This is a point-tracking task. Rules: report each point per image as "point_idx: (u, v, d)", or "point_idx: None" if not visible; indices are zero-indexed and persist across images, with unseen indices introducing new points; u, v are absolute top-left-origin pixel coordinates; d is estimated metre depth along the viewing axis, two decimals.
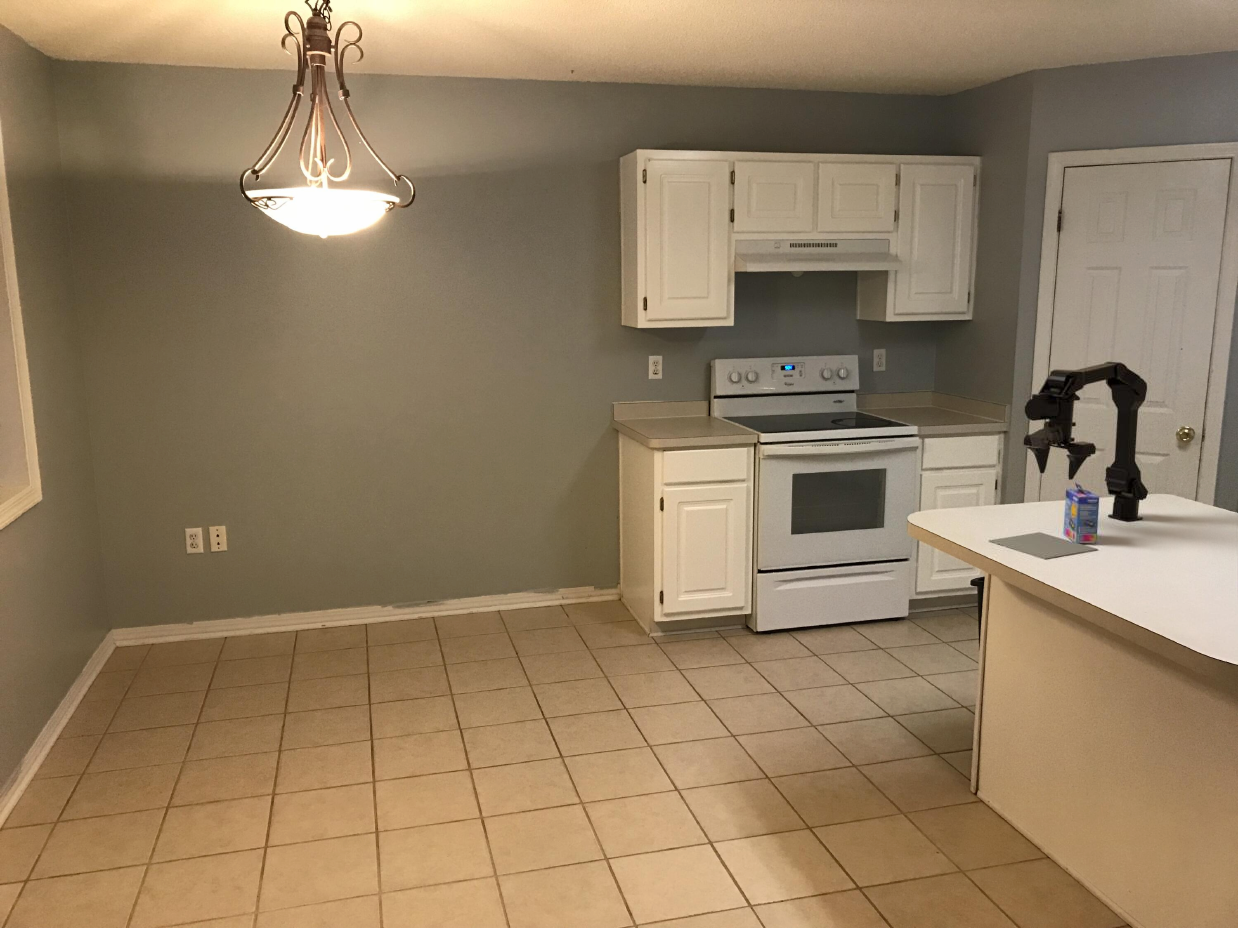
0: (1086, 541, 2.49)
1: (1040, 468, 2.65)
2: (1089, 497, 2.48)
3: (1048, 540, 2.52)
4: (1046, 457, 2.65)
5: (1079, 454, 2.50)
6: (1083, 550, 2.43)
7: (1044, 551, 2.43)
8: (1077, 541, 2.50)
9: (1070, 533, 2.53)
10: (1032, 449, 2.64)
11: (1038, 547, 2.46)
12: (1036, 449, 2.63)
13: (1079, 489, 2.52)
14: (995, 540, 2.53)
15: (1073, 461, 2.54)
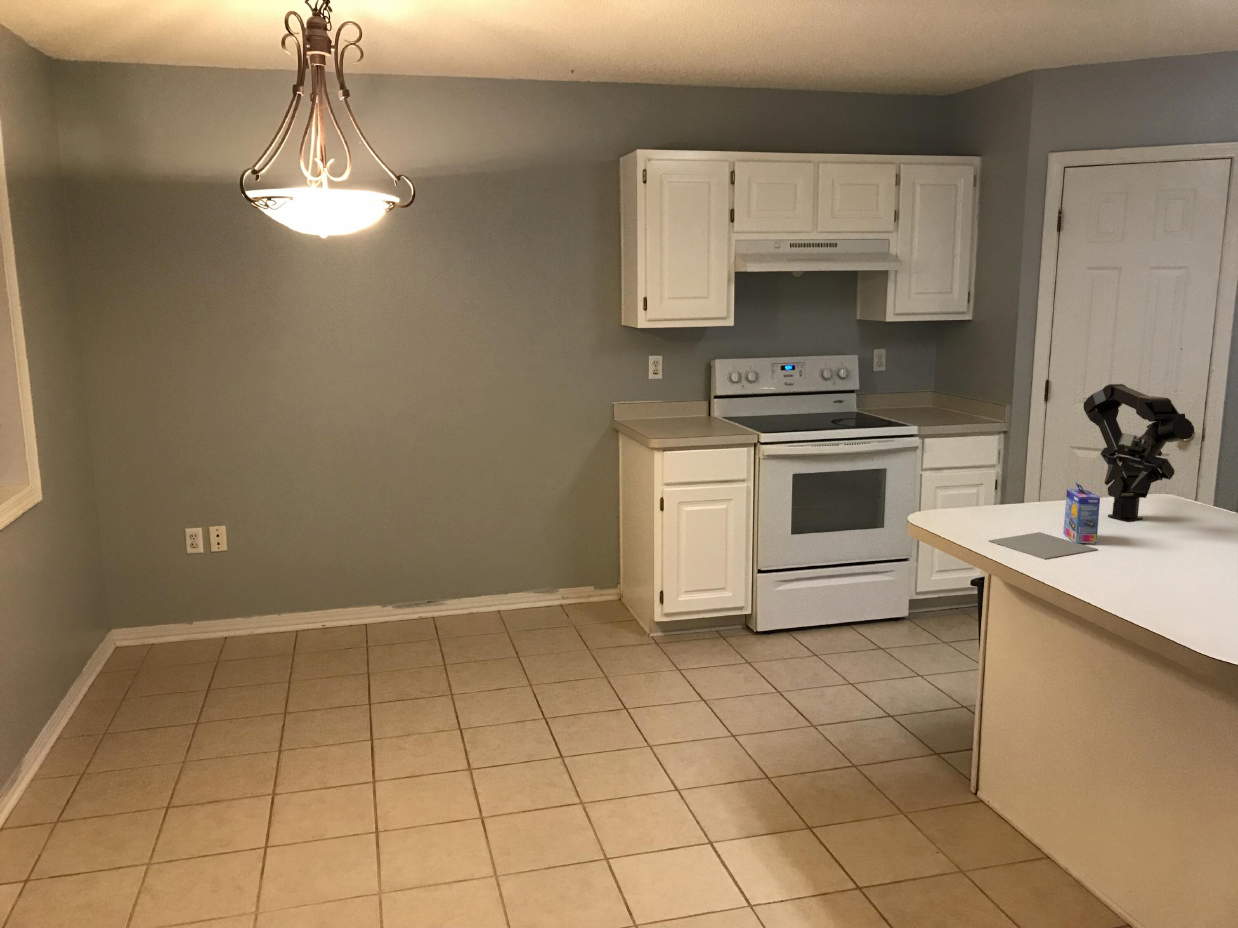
0: (1086, 541, 2.49)
1: (1107, 478, 2.61)
2: (1090, 497, 2.48)
3: (1048, 540, 2.52)
4: (1116, 474, 2.62)
5: (1161, 464, 2.49)
6: (1083, 550, 2.43)
7: (1044, 551, 2.43)
8: (1077, 541, 2.50)
9: (1070, 533, 2.53)
10: (1110, 458, 2.62)
11: (1038, 547, 2.46)
12: (1114, 459, 2.62)
13: (1080, 489, 2.52)
14: (995, 540, 2.53)
15: (1146, 472, 2.53)
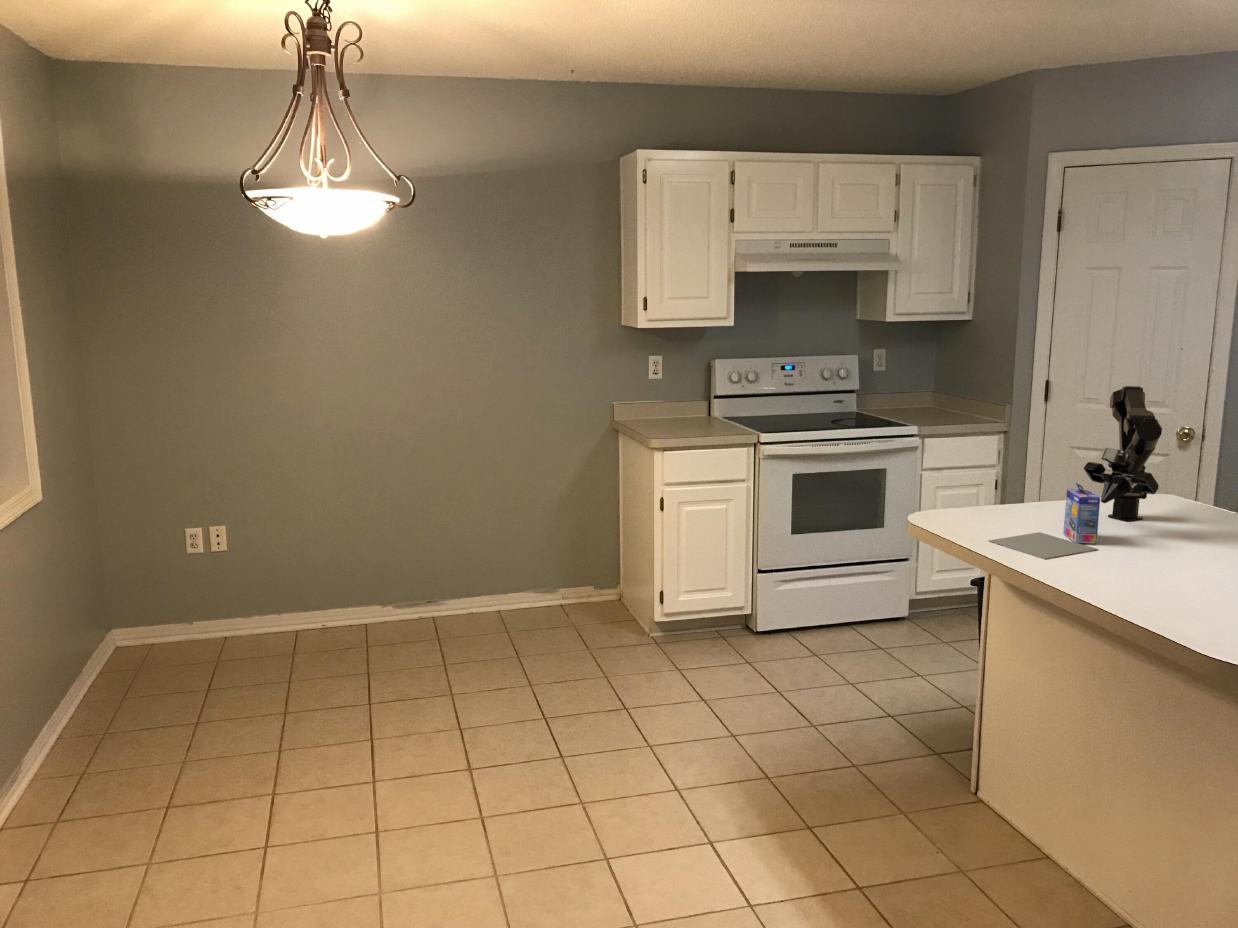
0: (1086, 541, 2.49)
1: (1103, 496, 2.55)
2: (1090, 497, 2.48)
3: (1048, 540, 2.52)
4: None
5: (1145, 479, 2.47)
6: (1083, 550, 2.43)
7: (1044, 551, 2.43)
8: (1077, 541, 2.50)
9: (1070, 533, 2.53)
10: (1106, 475, 2.57)
11: (1038, 547, 2.46)
12: (1110, 476, 2.56)
13: (1080, 489, 2.52)
14: (995, 540, 2.53)
15: (1117, 484, 2.54)
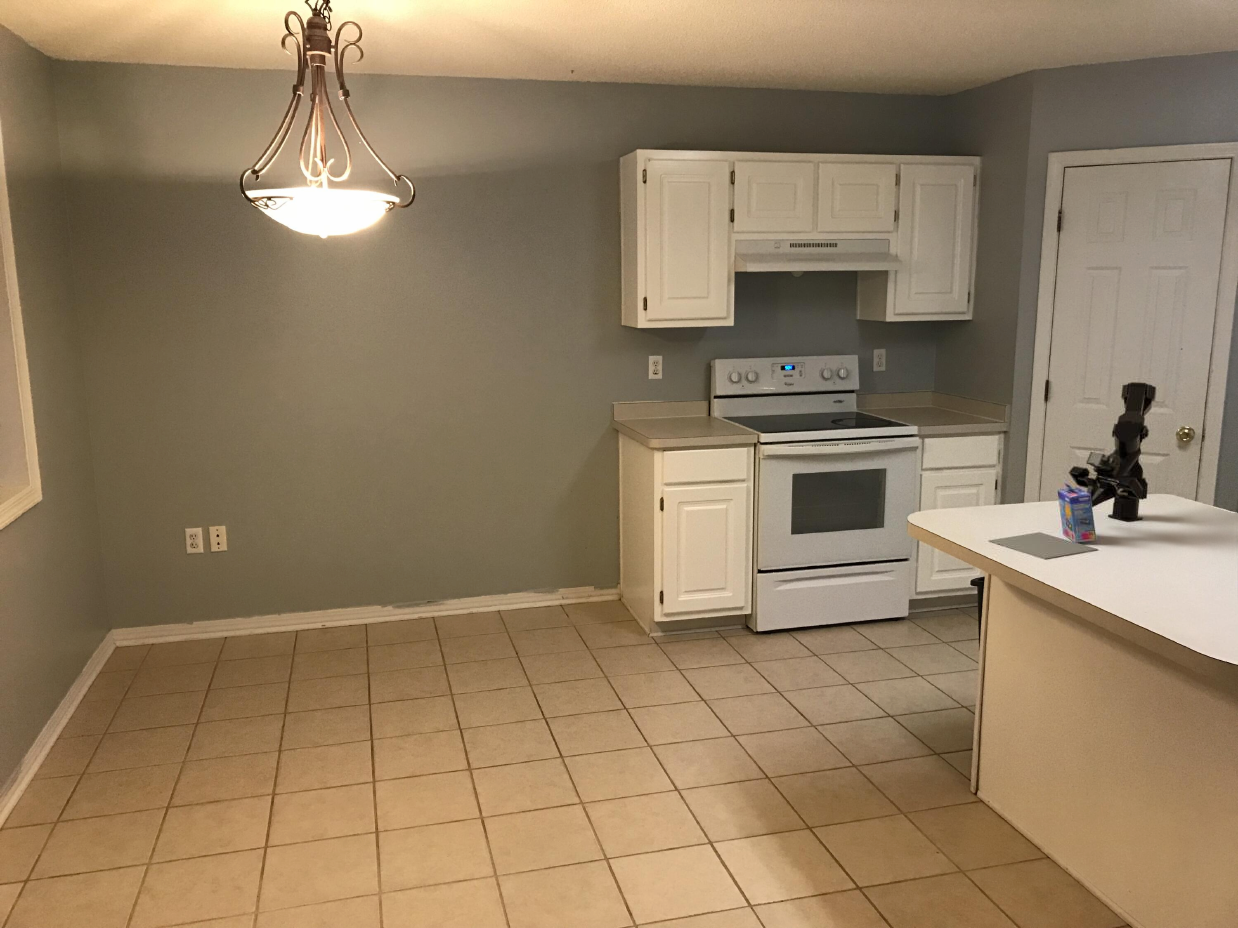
0: (1086, 539, 2.49)
1: None
2: (1080, 496, 2.48)
3: (1048, 540, 2.52)
4: None
5: (1129, 483, 2.45)
6: (1083, 550, 2.43)
7: (1044, 551, 2.43)
8: (1077, 541, 2.50)
9: (1069, 533, 2.53)
10: (1090, 479, 2.55)
11: (1038, 547, 2.46)
12: (1094, 481, 2.54)
13: (1069, 489, 2.53)
14: (995, 540, 2.53)
15: (1103, 489, 2.52)
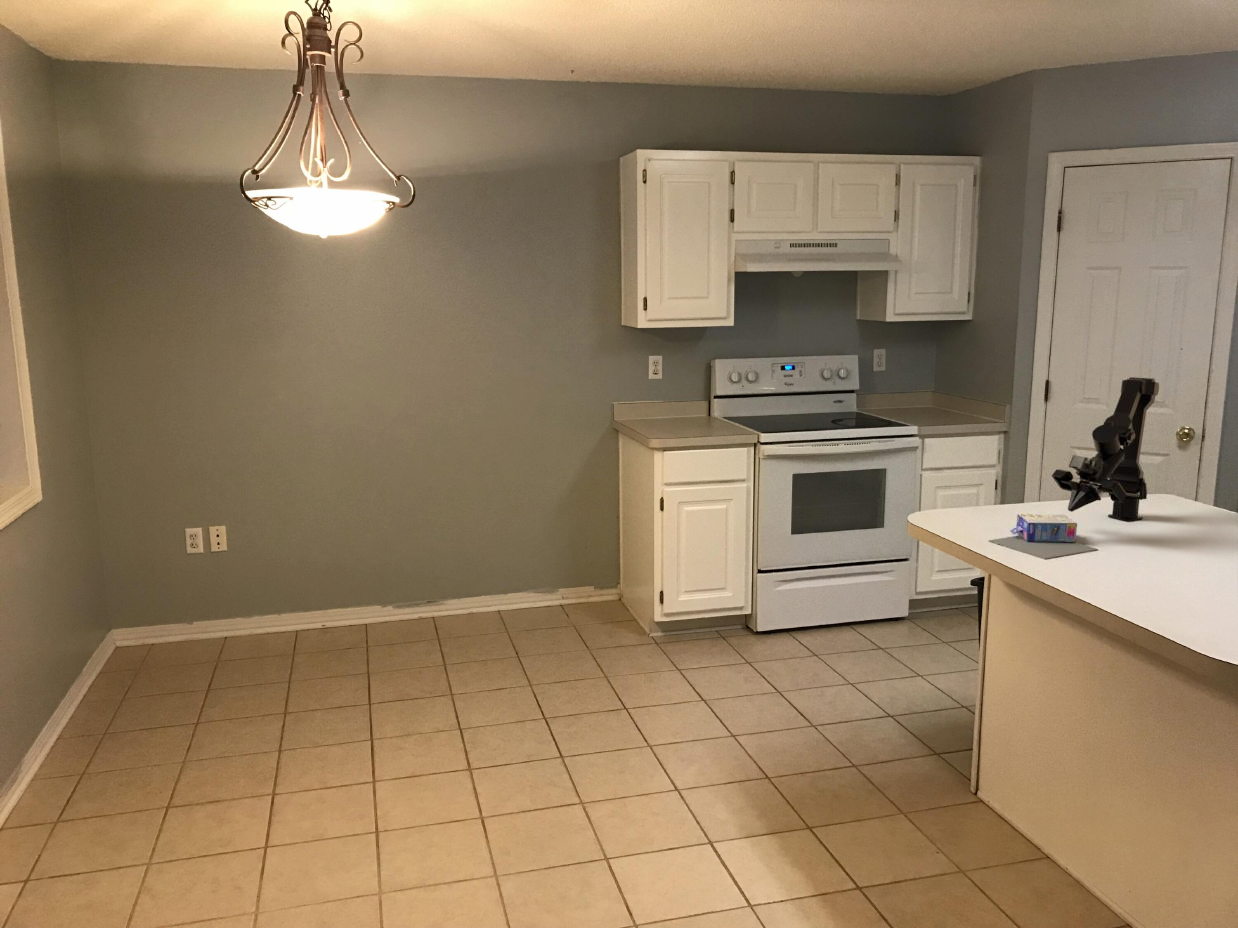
0: (1074, 532, 2.49)
1: (1070, 504, 2.51)
2: (1027, 531, 2.51)
3: None
4: None
5: (1112, 487, 2.43)
6: (1083, 550, 2.43)
7: (1044, 551, 2.43)
8: (1074, 540, 2.49)
9: None
10: (1073, 483, 2.52)
11: (1038, 547, 2.46)
12: (1077, 484, 2.52)
13: (1017, 530, 2.55)
14: (995, 540, 2.53)
15: (1084, 492, 2.49)
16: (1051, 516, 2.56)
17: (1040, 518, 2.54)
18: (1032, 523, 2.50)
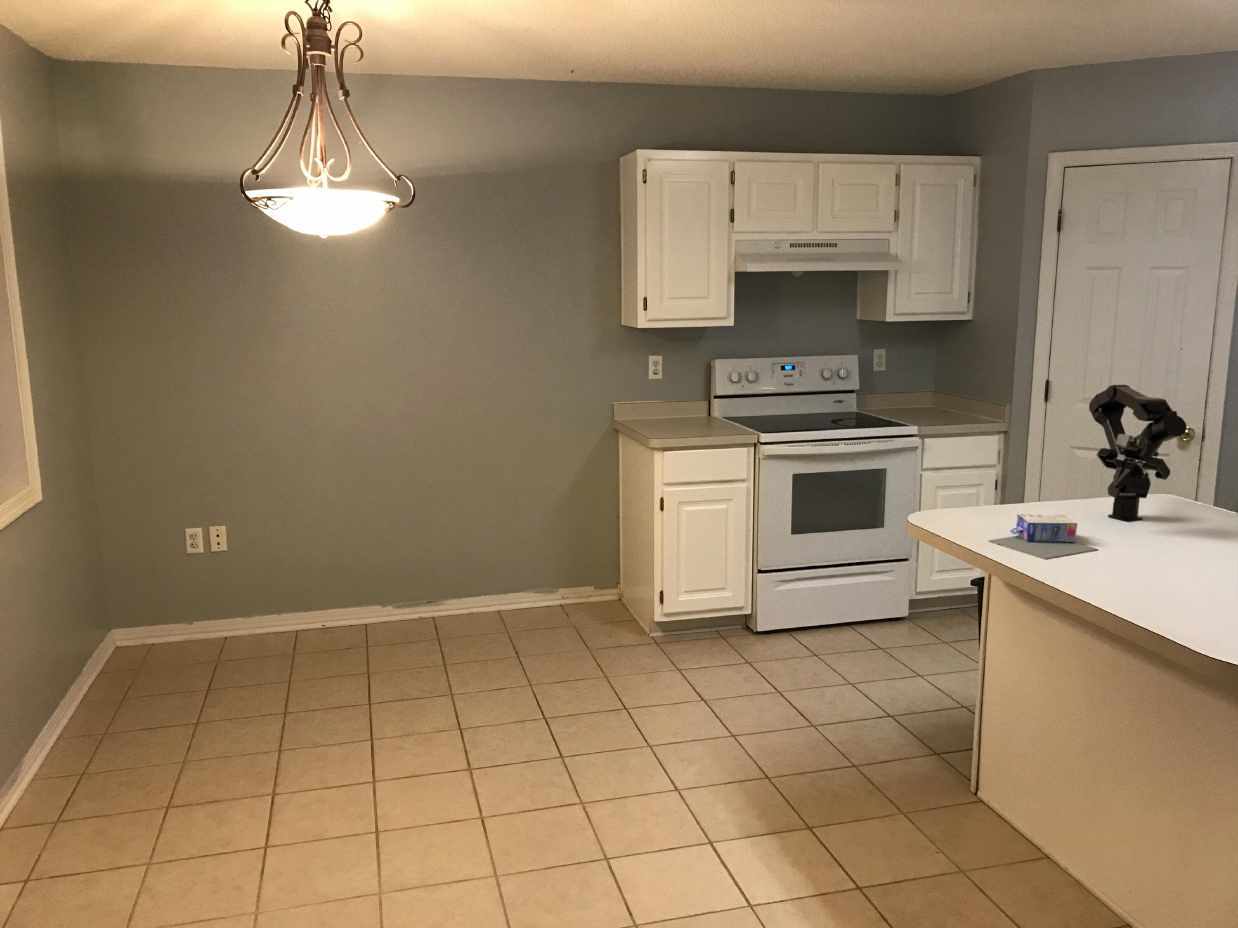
0: (1074, 532, 2.49)
1: (1115, 481, 2.57)
2: (1027, 531, 2.51)
3: None
4: None
5: (1156, 464, 2.49)
6: (1083, 550, 2.43)
7: (1044, 551, 2.43)
8: (1074, 540, 2.49)
9: None
10: (1118, 461, 2.59)
11: (1038, 547, 2.46)
12: (1122, 462, 2.58)
13: (1017, 529, 2.55)
14: (995, 540, 2.53)
15: (1129, 470, 2.56)
16: (1051, 516, 2.56)
17: (1040, 518, 2.54)
18: (1032, 523, 2.50)
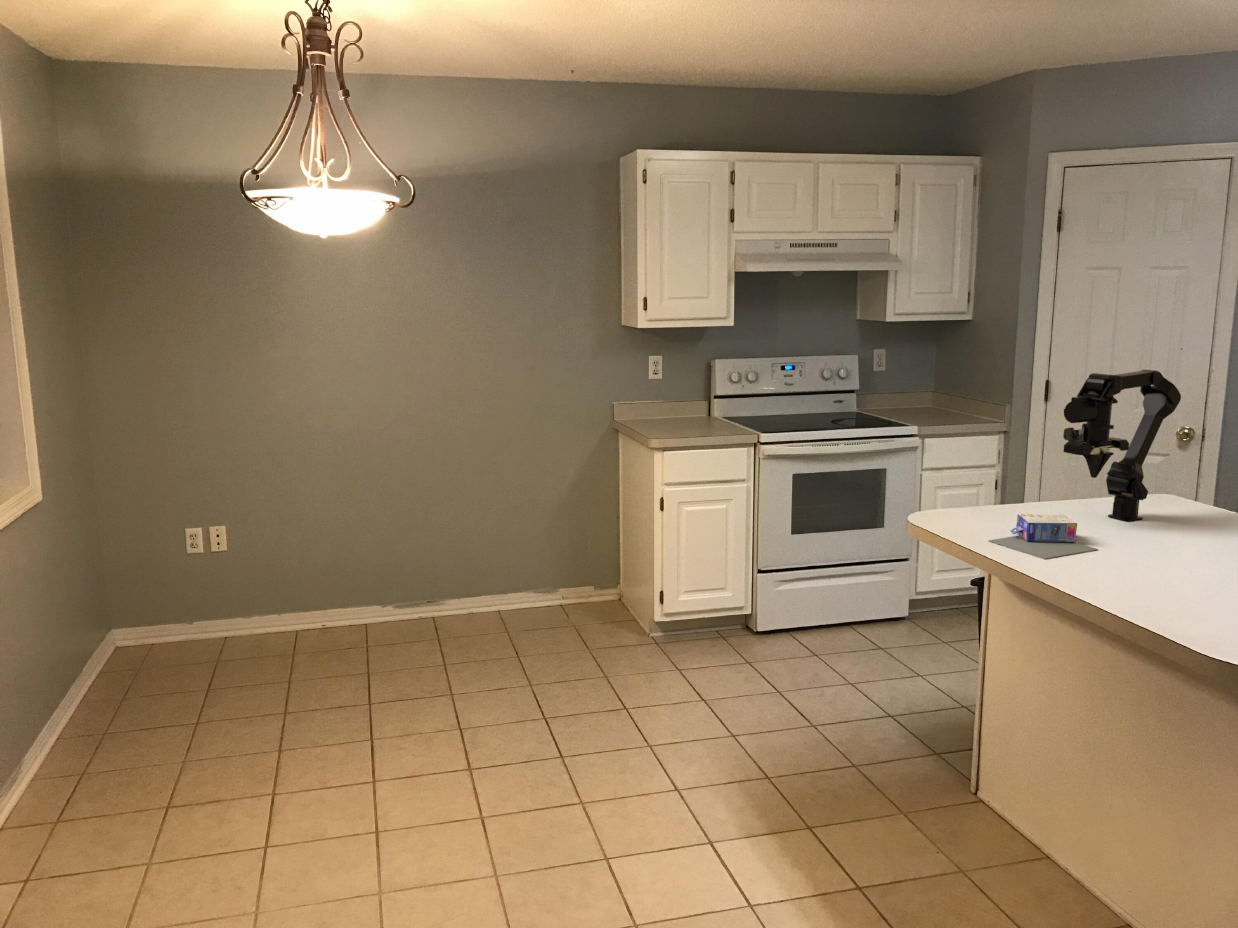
0: (1074, 532, 2.49)
1: None
2: (1027, 531, 2.51)
3: None
4: None
5: (1063, 450, 2.65)
6: (1083, 550, 2.43)
7: (1044, 551, 2.43)
8: (1074, 540, 2.49)
9: None
10: None
11: (1038, 547, 2.46)
12: None
13: (1017, 529, 2.55)
14: (995, 540, 2.53)
15: None
16: (1051, 516, 2.56)
17: (1040, 518, 2.54)
18: (1032, 523, 2.50)
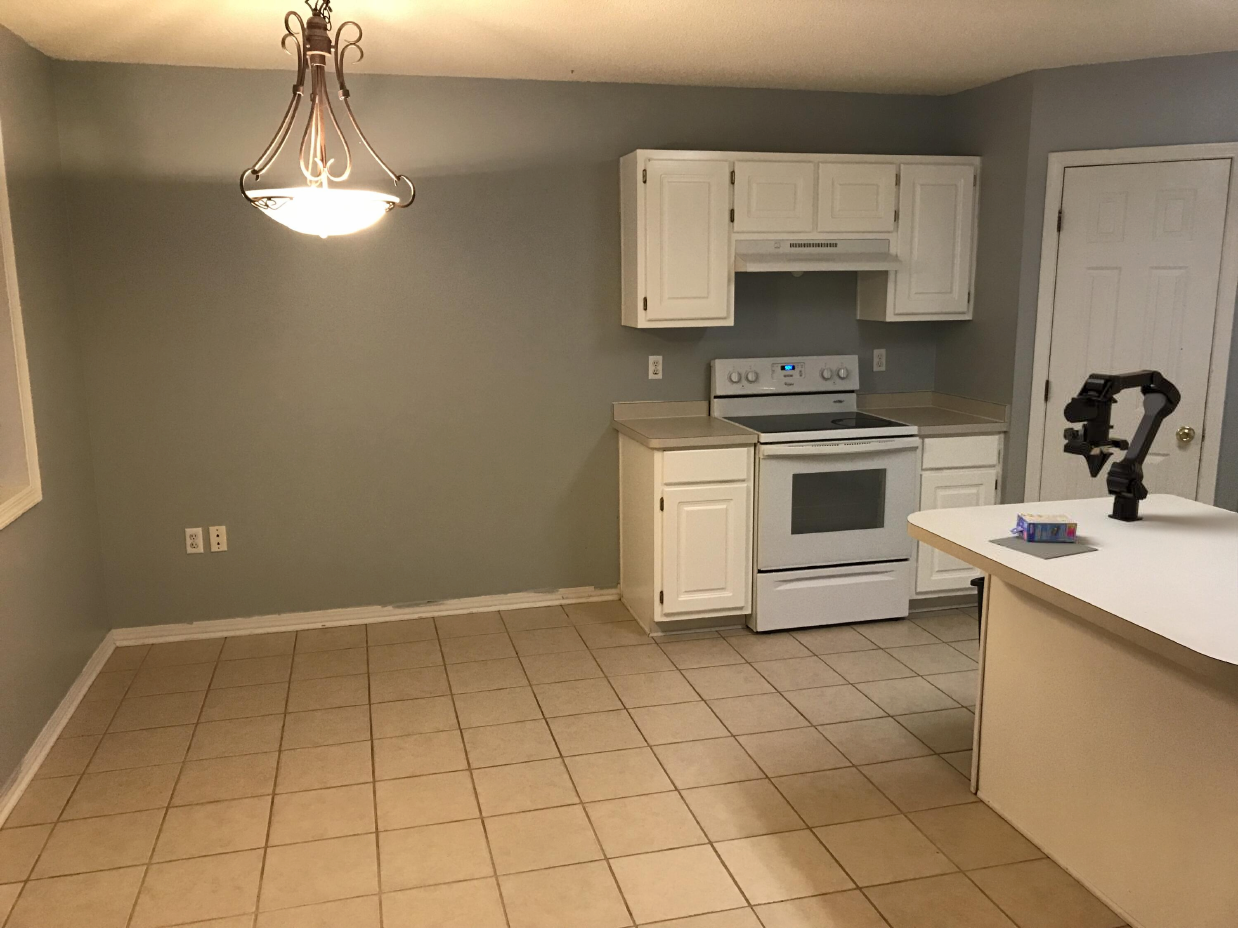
0: (1074, 532, 2.49)
1: None
2: (1027, 531, 2.51)
3: None
4: (1099, 462, 2.66)
5: (1063, 450, 2.65)
6: (1083, 550, 2.43)
7: (1044, 551, 2.43)
8: (1074, 540, 2.49)
9: None
10: None
11: (1038, 547, 2.46)
12: None
13: (1017, 529, 2.55)
14: (995, 540, 2.53)
15: None
16: (1051, 516, 2.56)
17: (1040, 518, 2.54)
18: (1032, 523, 2.50)
